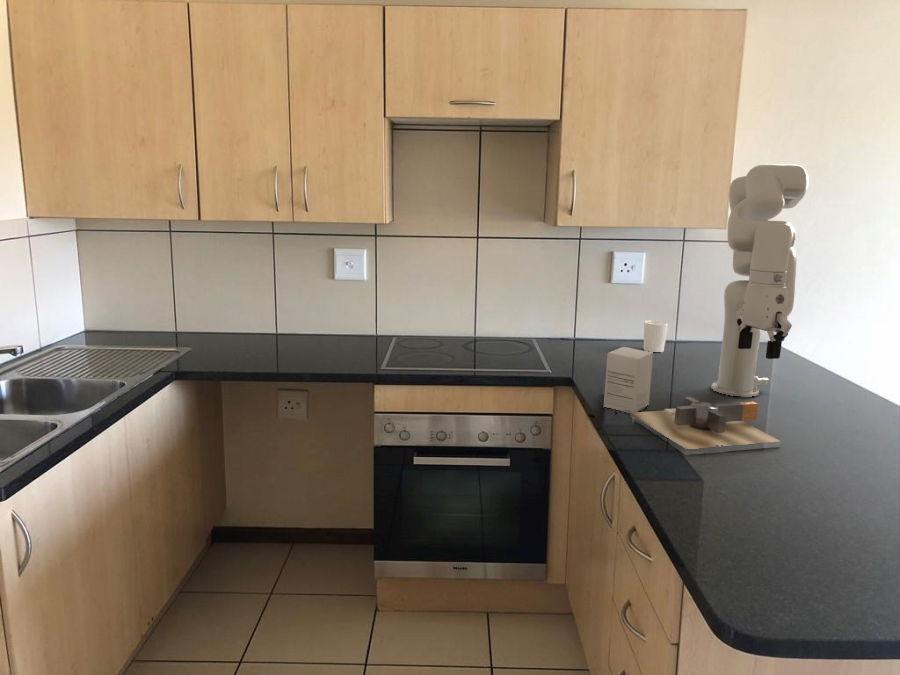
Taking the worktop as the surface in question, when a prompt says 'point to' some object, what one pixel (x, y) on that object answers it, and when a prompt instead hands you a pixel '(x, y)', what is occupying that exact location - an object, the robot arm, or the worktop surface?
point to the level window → (670, 411)
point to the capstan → (713, 414)
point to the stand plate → (702, 432)
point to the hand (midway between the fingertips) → (758, 353)
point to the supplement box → (628, 379)
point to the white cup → (654, 335)
